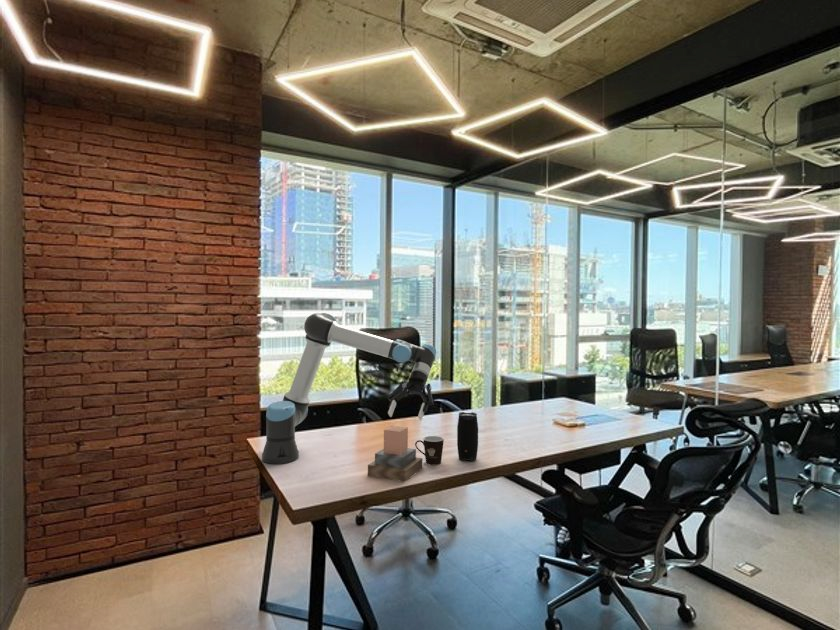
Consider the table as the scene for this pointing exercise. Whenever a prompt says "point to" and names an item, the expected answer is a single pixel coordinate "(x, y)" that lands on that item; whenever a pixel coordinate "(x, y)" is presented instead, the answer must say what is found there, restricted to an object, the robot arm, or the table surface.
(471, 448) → the portable speaker
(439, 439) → the coffee mug
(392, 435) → the terracotta brick
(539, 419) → the table surface
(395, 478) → the block tower
